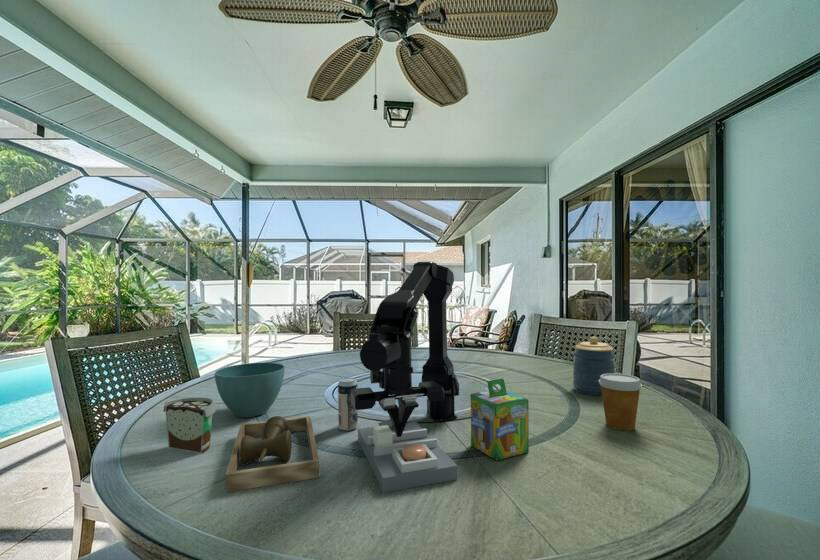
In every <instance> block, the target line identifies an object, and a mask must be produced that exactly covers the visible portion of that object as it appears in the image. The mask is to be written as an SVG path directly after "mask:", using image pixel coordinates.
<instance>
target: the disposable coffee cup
mask: <svg viewBox="0 0 820 560" xmlns="http://www.w3.org/2000/svg"><path fill="white" fill-rule="evenodd" d="M599 383H600V385H601V391H602V396H601V397H602V403H603V404H602V405H603V412H604V417H605V418H604V419H605V425H606V426H607V427H608V428H611V429H614V430H618V431H633V430H635V429H636V424H637V423H636V420H637V413H638V407H639V398H640V390H641V389H642V387H643V384H642V383H641V380H640V378H639V377H637V376H635V375H630V374H623V373H616V374H615V373H609V374H602V375H601V376H600V379H599Z"/></svg>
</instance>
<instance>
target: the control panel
mask: <svg viewBox="0 0 820 560" xmlns="http://www.w3.org/2000/svg"><path fill="white" fill-rule="evenodd" d="M373 427H374V426H371V427H369V426H368V427H362V428H358V429H357V441H358V442H359V444H360V446H361V448H362V451H363V453H364V455H365V457H366V460H367V461H368V463H369V466H370V468H371V470H372V472H373V474H374V476H375V478H376V480H377V482H378V484H379V487H380V488H381V491H382V493H384V494H385V493H388V492H395V491H400V490H404V489H411V488H412V489H413V488H416V487H422V486H427V485H434V484H439V483H445V482H450V481H456V480H458V464H456V462H454V460H453V459H452V458H450V456H449V455H448V454H447V453H446V452H445V451H444V450H443V448H441V446H439V445H438V439H437V438H436V437H434V438H432V437H431V436H430V435H429V434H428V433H429V432H428V430H429V429H428V428H422V426H420V424H419V423H418V422H417V421H411V422H407V423H406V426H405V428H404V431H403V433H402V436H401V437H397V436H396V433H395V431H394V430H393V431H392V442H393V444H391V445H384V446H376V447H375V445H374V440H373ZM410 444H419V445H422V446H424V447H425V448H426V459H421V460H415V461H408V462H405V461H404V460H403V456H402V449H403V447H404V446H406V445H410Z"/></svg>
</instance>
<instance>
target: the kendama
mask: <svg viewBox="0 0 820 560" xmlns="http://www.w3.org/2000/svg"><path fill="white" fill-rule="evenodd" d="M285 419H286V418H285V417H283V416H279V415H277V416H276V415H275V416H271V417H270V418H268V419H267V420H266V421H267V422H266V425H265V428H264V431H263V438H264V439H263V438H262V439H261V438H257V437H256V438H255V437H251V436H248V435H245V436H244V437H243V438H242V441H241V445H240V460H239V461H240V463H241V465H242V466H247V465H249V464H250V463H252V462H253V461H255V460H259V462H262V461H264V459H265V457H275V458H278V459H280V460H282V461H284V462H287V463H288V462H289V461H290V460H291V457H292V447H293V445H292V441H293V439H292V432H290V431H289V430H287V427H288V424H287V421H286V420H285Z"/></svg>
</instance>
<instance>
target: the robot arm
mask: <svg viewBox="0 0 820 560" xmlns="http://www.w3.org/2000/svg"><path fill="white" fill-rule="evenodd" d="M454 281H455V274H454V272H453V271H452V270H451V269H450V268H449V267H446V266H443V265H440V264H437V263H436V262H433V261H417V262H415V263H413V267H412V270H411V271H410V273H409V274H408V275H407V277H406V279H405V280H404V282H403V283H402V285H401V286H400V288H399V289H398V290H397V291H396V292H394V293H390V294H389V295H387V296H386V297H384V299H383V300H381V302H380V303H379V304H378V307H377V308H376V313H375V316H374V318H373V321H372V325H371V328H370V329H369V335H368V340H367V341H365V342H364V344H362V346H361V348H360V351H359V358H360V361H361V364H362V366H364V368H365V369H367V370H368V371H369V373H370V374H369V375H370V384H378V388H381V389H382V390H381V391H373V389H372V388H371V387H370V386H369V387H358V388H357V389H353V390H352V392H351V403H352V405H353V406H354V408H355V410H358V411H362V410H363V411H364V410H371V409H373V407H375V406H376V402H377V403H378V405H379V406H380V407H381V409H382V411H384V412H387V413H388V415H389V419H391V422H392V425H393V428H394V431H395V433H396V436H397V437H401V436H402V433H403V431H404V428H405V426H406V423H408V421H409V418H410V417H411V416H412V414H413V411H414V410H415V409H416V408H419V403H418V402H417V398H420V397H426V415H427V416H429V418H431V420H432V421H434V422H439V421H447V420H457V419H458V415H456V414H455V397H457V396H460V383H459V380H458V379H457V376H456V373H455V370H454V369H455V368H454V364H453V362H452V361H451V359H450V357H449V356H448V336H447V335H448V331H447V327H448V326H447V325H448V324H447V300H448V299H449V297H450V295H451V294H452V291H453V285H454ZM422 296H424V298H425V299H426V301H427V303H428V305H427V306H428V307H427V309H428V313H427V315H428V354H429V355H428V358H427V359H426V362H425V363H424V364H423V366H422V374H421V381H420V382H419V383H418V385H417V387H413V386H412V385H413V380H412V378H413V375H412V373H414V367H413V366H412V337H413V336H414V332H413V328H414V326H415V323H416V321H417V319H418V314H419V312H418V308H417V305H418V303H419V301H420V300H421V298H422ZM396 400H397V403H398V404H396Z"/></svg>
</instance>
